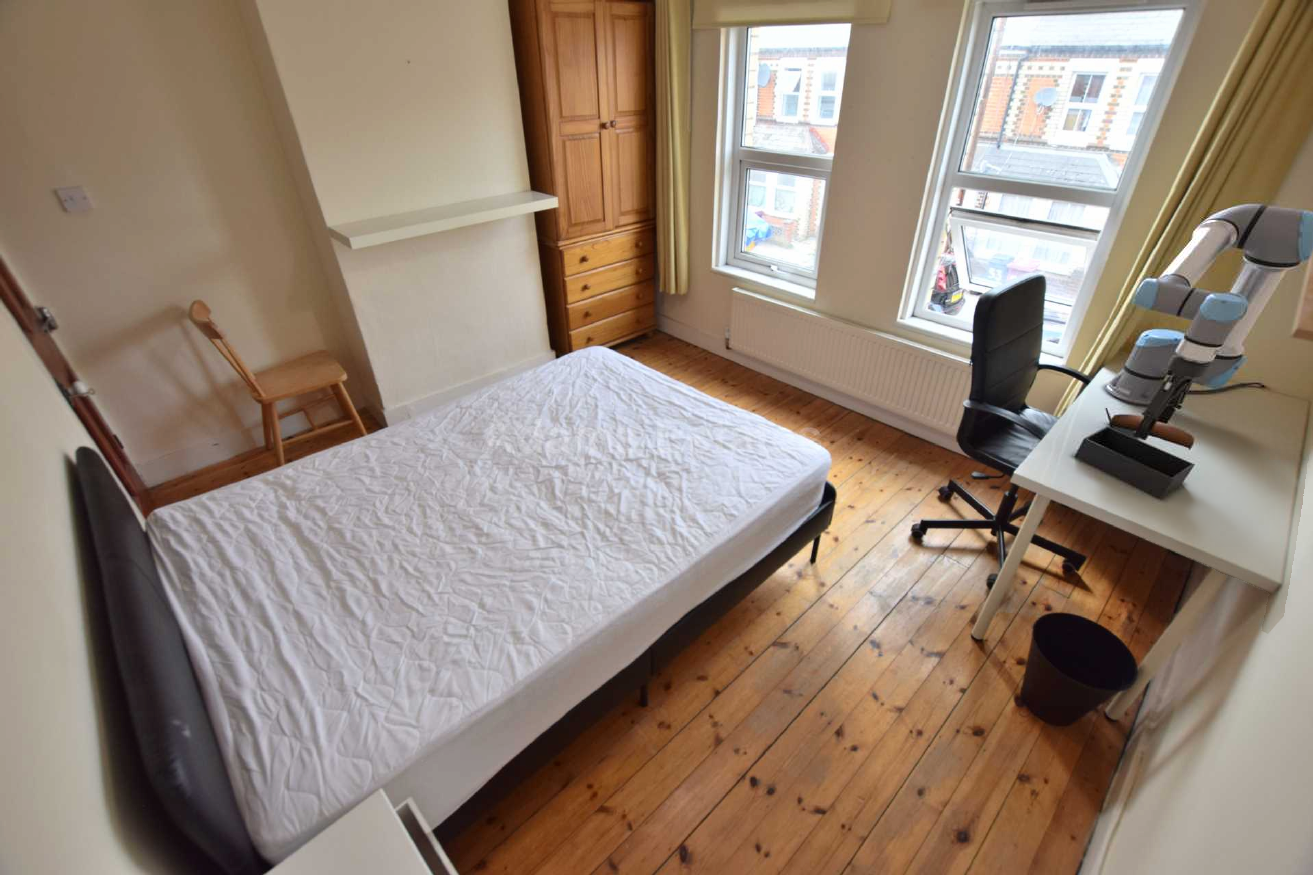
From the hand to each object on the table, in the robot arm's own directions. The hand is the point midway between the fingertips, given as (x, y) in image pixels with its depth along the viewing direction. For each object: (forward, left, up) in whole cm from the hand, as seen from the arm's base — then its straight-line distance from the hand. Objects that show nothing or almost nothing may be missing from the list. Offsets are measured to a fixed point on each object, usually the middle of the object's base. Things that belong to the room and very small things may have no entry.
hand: (1148, 432), depth 156 cm
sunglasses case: (0, 0, 0) cm, 0 cm away
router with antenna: (-19, -11, -13) cm, 25 cm away
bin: (0, 0, -13) cm, 13 cm away
